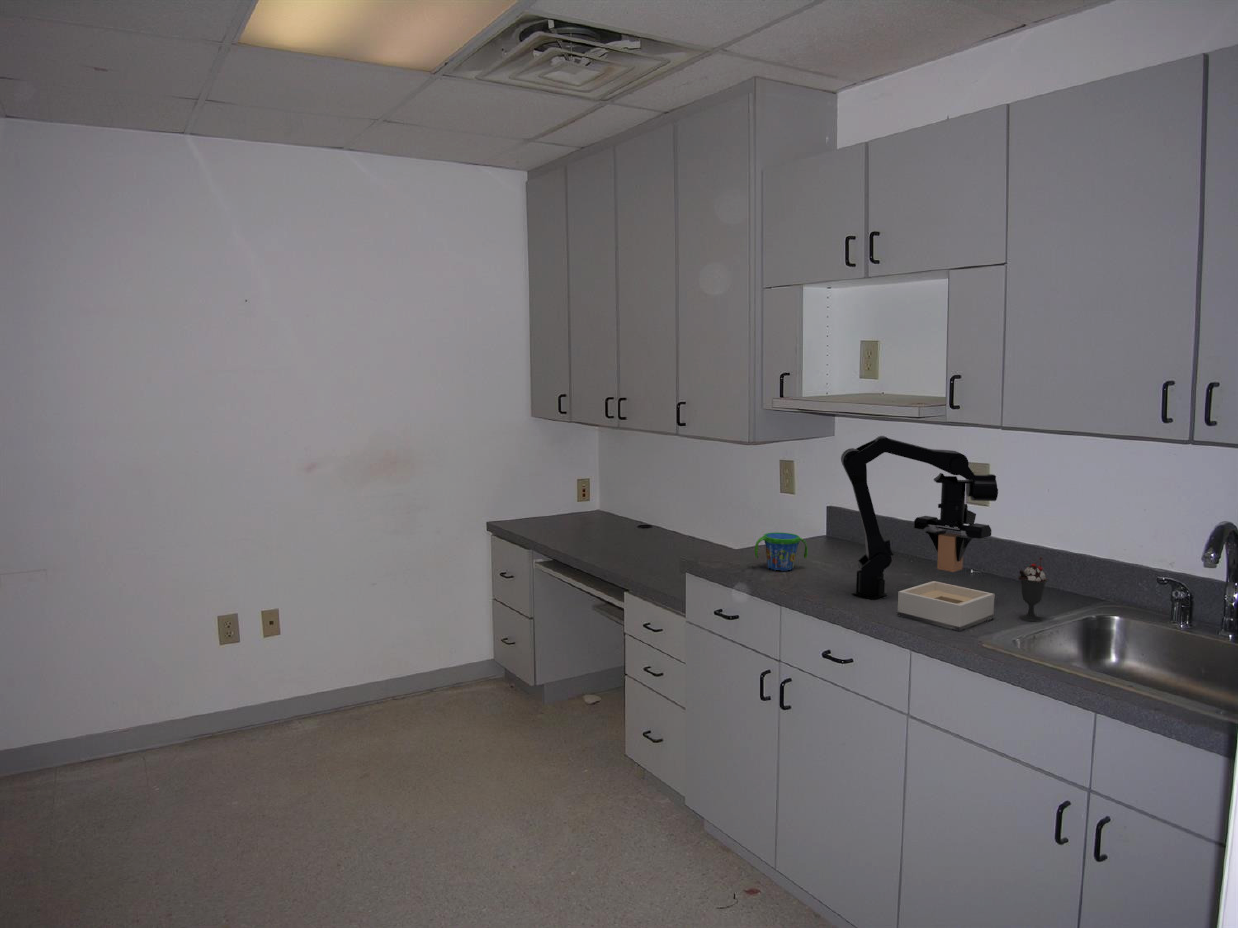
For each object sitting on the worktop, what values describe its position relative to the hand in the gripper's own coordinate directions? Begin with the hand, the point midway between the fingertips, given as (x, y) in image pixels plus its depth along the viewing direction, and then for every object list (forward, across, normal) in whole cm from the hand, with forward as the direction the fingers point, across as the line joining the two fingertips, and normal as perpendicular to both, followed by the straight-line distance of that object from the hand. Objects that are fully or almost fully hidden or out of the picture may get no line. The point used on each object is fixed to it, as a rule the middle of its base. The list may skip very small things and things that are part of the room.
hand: (950, 559), depth 225 cm
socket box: (+10, -8, +16) cm, 20 cm away
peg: (+3, 0, 0) cm, 3 cm away
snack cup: (+11, +49, +8) cm, 51 cm away
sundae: (+11, -22, +1) cm, 24 cm away
